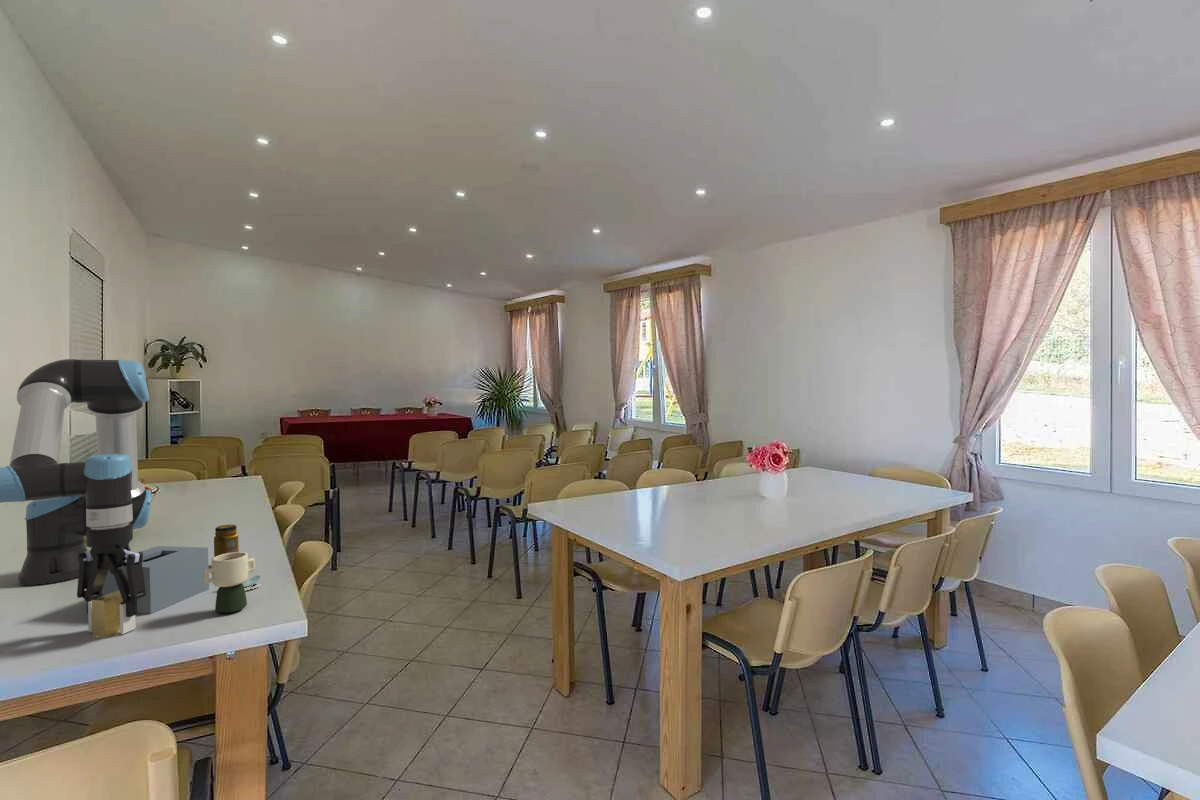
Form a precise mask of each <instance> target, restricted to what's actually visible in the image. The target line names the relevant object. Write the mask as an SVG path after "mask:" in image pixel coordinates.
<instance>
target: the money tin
mask: <svg viewBox="0 0 1200 800" xmlns="http://www.w3.org/2000/svg"><path fill="white" fill-rule="evenodd" d="M139 552H142V553H143V558H142V568H143V575H144V582H145V590H146V596H144V597H141V598H139V599H138V600H137V614H146V615H148V614H149V615H152V614H155V613H156V612H157V613H158V611H161V610H164V609H166V608H168V607H170V606H174V605H176V604H177V603H180V602H182V601H185V600H187V599H189V598H191V596H192V597H194V596H197V595H198V593H199V594H200V592H201V593H203V592H205V590H206V591H207V589H208V590H210V583H207V584H205V583H204V570H206V569H210V567H209V547H205V546H204V547H203V546H201V547H199V546H171V545H170V546H168V545H166V546H165V545H158V546H154V547H150V548H147V549H144V550H141V551H139ZM122 567H123V566H122ZM119 568H121V567H119ZM117 569H118V568H117ZM118 590H119V588H118V585H117V582H116V580H115V577H114V575H113V574H111V573H110V570H108V573H107V576H106V579H105V582H104V585H103V589H102V592H101V593H102V594H104V595H107V594H110V593H112V592H115V591H118ZM202 591H203V592H202ZM104 595H103V596H104Z"/></svg>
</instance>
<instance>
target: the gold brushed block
mask: <svg viewBox="0 0 1200 800" xmlns="http://www.w3.org/2000/svg"><path fill="white" fill-rule="evenodd" d="M129 596H130V594H129ZM120 602H123V599H122V596H121V594H120V591H119V590H118V591H115V592H112V593H110V594H107V595H104V596H101V597H98V598H96V599H93V600H92V623H93V632H92V637H93V636H98V637H97V638H100V637H106V638H108V637H110V636H112V634H113V635H115V634H117V633H120ZM114 633H115V634H114ZM109 635H110V636H109ZM107 636H108V637H107Z"/></svg>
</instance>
